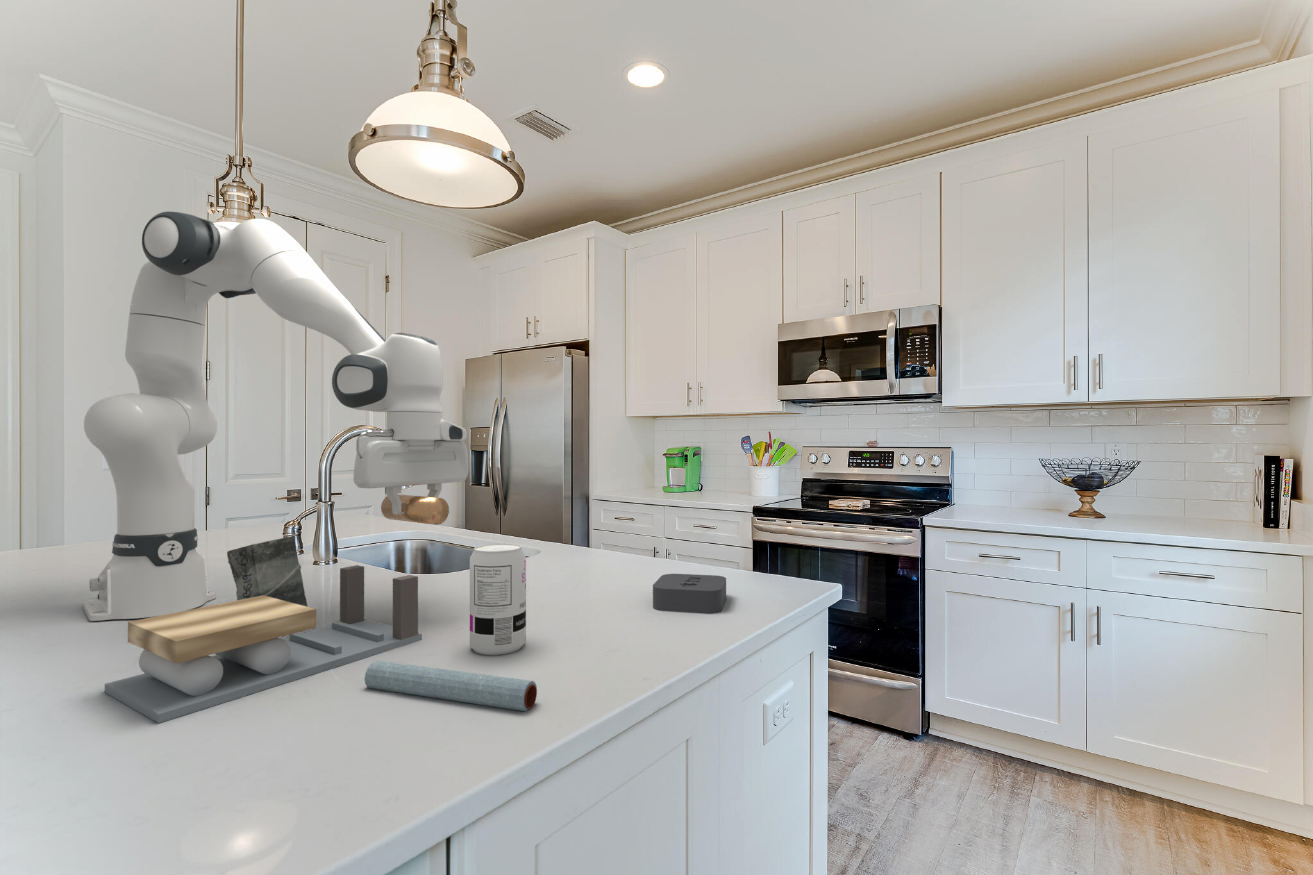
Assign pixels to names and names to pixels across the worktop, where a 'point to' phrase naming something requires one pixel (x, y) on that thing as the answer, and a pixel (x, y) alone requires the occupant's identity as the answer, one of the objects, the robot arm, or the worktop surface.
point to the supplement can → (497, 598)
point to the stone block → (268, 571)
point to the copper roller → (418, 509)
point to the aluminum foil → (452, 685)
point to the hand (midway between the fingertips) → (414, 512)
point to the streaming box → (689, 593)
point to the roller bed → (252, 681)
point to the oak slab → (219, 627)
